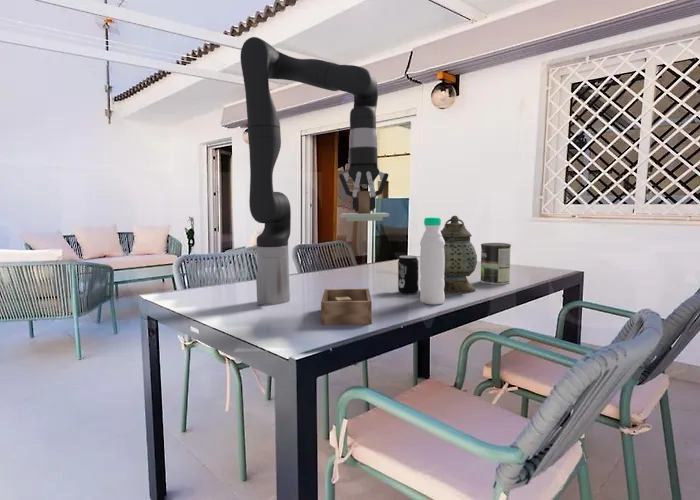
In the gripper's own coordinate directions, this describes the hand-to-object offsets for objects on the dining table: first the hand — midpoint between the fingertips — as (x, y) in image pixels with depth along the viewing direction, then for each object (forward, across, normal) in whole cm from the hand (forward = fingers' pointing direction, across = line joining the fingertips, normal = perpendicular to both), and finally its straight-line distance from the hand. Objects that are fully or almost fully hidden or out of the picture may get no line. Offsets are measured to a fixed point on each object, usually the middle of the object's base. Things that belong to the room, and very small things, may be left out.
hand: (364, 210), depth 117 cm
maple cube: (+27, -6, -6) cm, 28 cm away
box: (+27, -5, -10) cm, 30 cm away
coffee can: (+28, +48, +38) cm, 67 cm away
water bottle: (+27, +20, +6) cm, 34 cm away
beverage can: (+27, +14, +21) cm, 38 cm away
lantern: (+27, +30, +25) cm, 48 cm away
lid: (+1, 0, 0) cm, 1 cm away
